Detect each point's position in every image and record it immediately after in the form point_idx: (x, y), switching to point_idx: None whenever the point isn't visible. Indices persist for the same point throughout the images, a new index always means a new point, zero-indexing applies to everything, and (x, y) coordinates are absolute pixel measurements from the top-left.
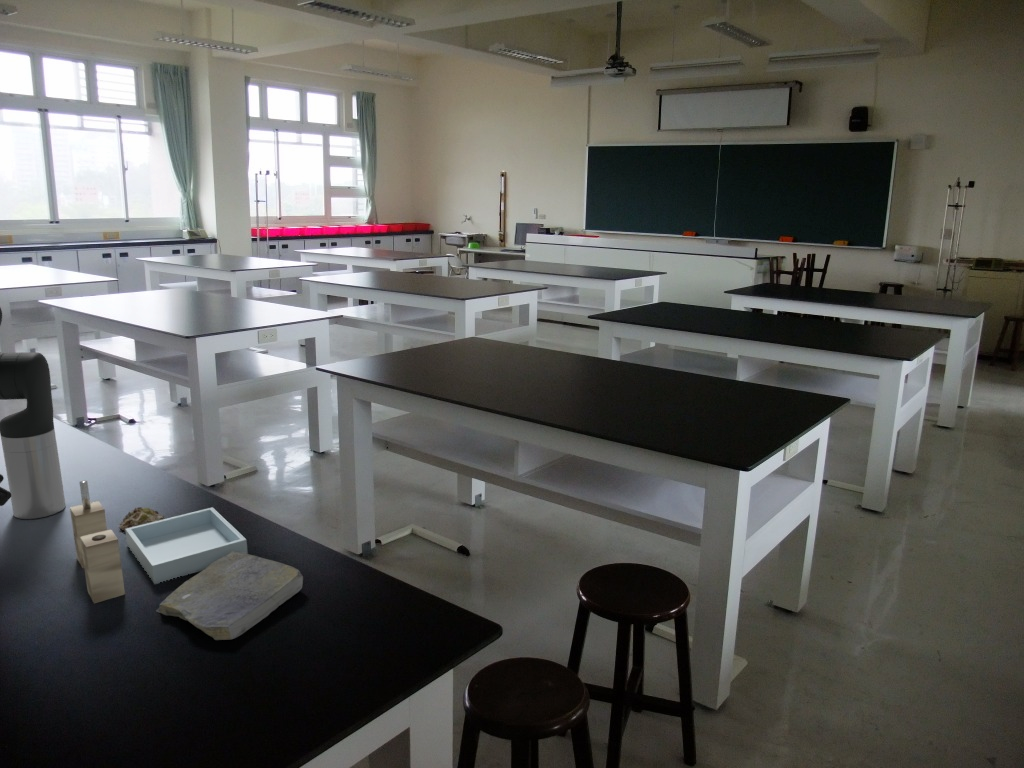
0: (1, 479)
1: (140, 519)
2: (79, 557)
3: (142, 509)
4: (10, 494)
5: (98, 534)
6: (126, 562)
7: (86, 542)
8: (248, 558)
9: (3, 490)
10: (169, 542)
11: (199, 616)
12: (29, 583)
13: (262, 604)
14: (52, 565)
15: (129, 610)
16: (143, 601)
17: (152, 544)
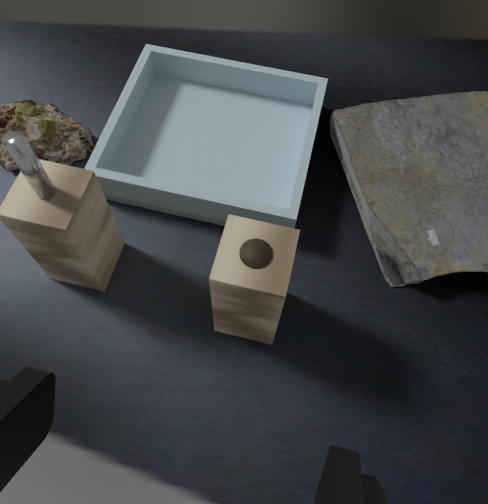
0: (49, 384)
1: (46, 134)
2: (79, 280)
3: (19, 112)
4: (359, 456)
5: (233, 245)
6: (158, 229)
7: (259, 284)
8: (382, 111)
9: (360, 486)
10: (163, 149)
11: None
12: (68, 392)
13: None
14: (32, 324)
15: (352, 315)
16: (338, 283)
17: (143, 169)
